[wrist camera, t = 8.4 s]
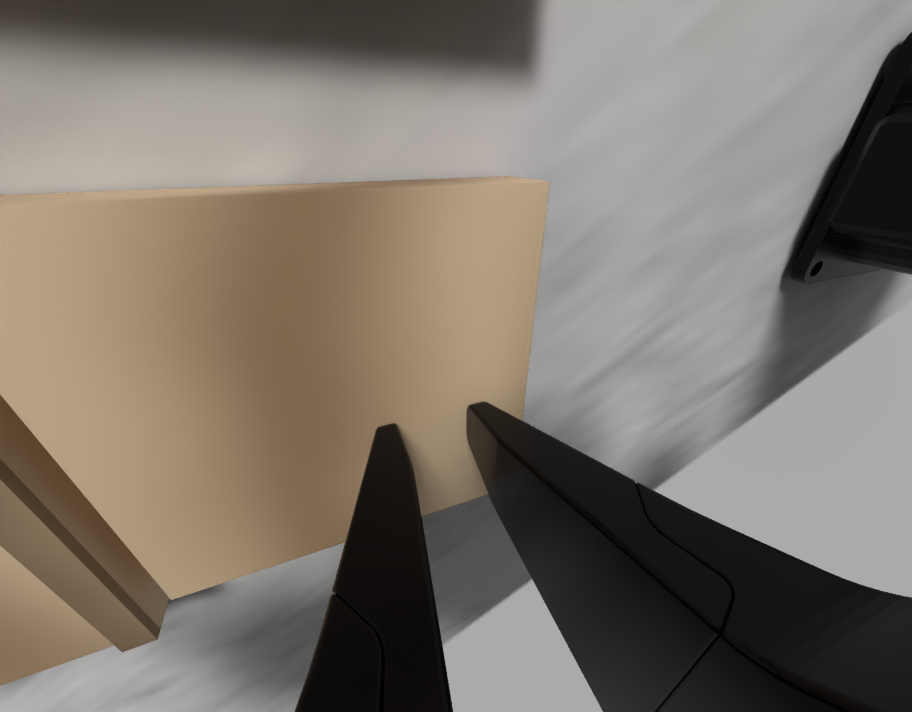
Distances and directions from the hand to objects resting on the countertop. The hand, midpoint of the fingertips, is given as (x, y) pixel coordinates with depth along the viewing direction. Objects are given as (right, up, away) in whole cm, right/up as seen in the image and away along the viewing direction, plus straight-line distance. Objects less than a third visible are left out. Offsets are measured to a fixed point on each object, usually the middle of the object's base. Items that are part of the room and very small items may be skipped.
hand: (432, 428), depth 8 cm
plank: (-2, +1, 0) cm, 2 cm away
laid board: (-9, +4, -5) cm, 11 cm away
